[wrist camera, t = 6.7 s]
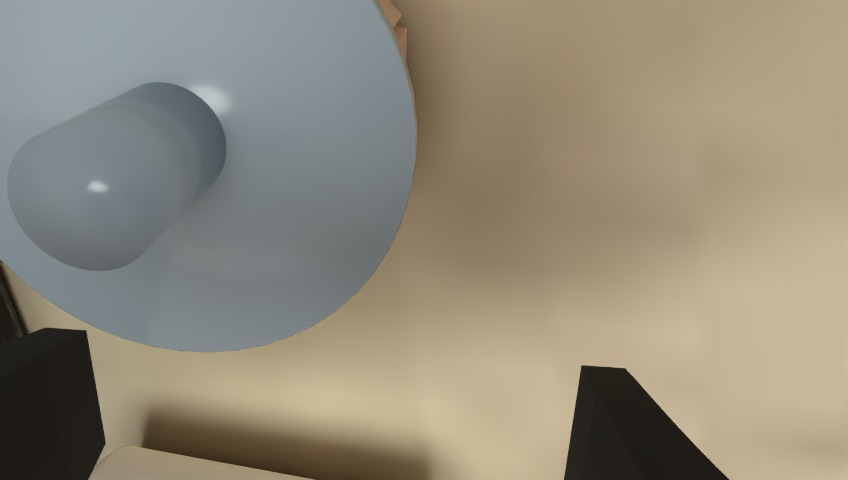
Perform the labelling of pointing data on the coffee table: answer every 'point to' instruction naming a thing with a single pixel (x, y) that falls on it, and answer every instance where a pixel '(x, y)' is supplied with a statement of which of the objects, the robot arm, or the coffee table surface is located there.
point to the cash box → (8, 318)
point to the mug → (174, 468)
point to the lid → (201, 161)
